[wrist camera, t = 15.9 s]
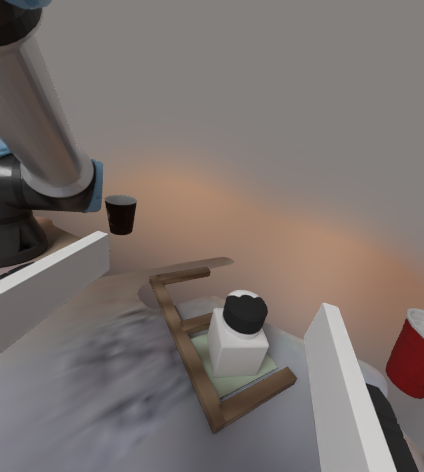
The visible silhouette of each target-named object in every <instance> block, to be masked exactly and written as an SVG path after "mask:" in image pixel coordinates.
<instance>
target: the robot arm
mask: <svg viewBox="0 0 424 472" xmlns="http://www.w3.org/2000/svg"><path fill="white" fill-rule="evenodd" d="M51 1H52V0H0V140H1V141H0V267H5V266H10V265H15V264H19V263H22V262H25V261H28V260H30V259H33V258H35V257H37V256H38V255H40V254H41V253H43V252H44V251H45V250H46V248H47V246H48V242H47V237H46V234H45V233H44V231H43V230H42V228H41V227H40V225H39V224H38V222H37V221H36V219H35V218H34V216H33V212H32V210H49V211H71V212H82V213H87V212H97V211H99V210H100V209H101V203H102V184H103V183H102V182H103V164H102V163H101V162H99V161H96V160H94V159H90V158H89V156H88V155H87V154H86V153H85V152H84V151H83V150H82V149H81V148H79V147H78V146H77V145H76V143H75V140H74V137H73V135H72V132H71V129H70V127H69V124H68V121H67V119H66V116H65V114H64V111H63V108H62V106H61V103H60V100H59V98H58V95H57V93H56V90H55V87H54V85H53V82H52V79H51V77H50V74H49V72H48V69H47V66H46V64H45V61H44V58H43V56H42V53H41V51H40V48H39V45H38V43H37V40H36V37H35V35H34V34H35V32H36V31H37V30H38V28H39V26H40V25H41V22H42V18H43V7H46V6H48V5H49V4H50V3H51ZM109 262H110V261H109V236H108V234H107V233H104V232H101V231H96V232H94V233H93V234H90V235H88V236H86V237H84V238H82V239H80V240H78V241H77V242H75V243H73V244H71V245H69V246H67V247H65V248H63V249H61V250H59V251H57V252H55V253H53V254H51V255H49V256H47V257H45V258H43V259H41V260H39V261H37V262H31V263H28V264H24V265H21V266H19V267H17V268H14V269H12V270H10V271H8V273H4V274H2V275H0V353H2V352H3V351H4V350H6V349H7V348H8V347H9V346H11V345H12V344H13V343H15V342H16V341H17V340H19V339H20V338H21V337H22V336H24V335H25V334H26V333H28V332H29V331H30V330H32V329H33V328H34V327H35V326H37V325H38V324H39V323H41V322H42V321H43V320H45V319H46V318H47V317H48V316H50V315H51V314H52V313H54V312H55V311H56V310H58V309H59V308H60V307H61V306H63V305H64V304H65V303H67V302H68V301H69V300H71V299H72V298H73V297H74V296H76V295H77V294H78V293H80V292H81V291H82V290H84V289H85V288H86V287H87V286H89V285H90V284H91V283H93V282H94V281H95V280H97V279H98V278H99V277H100V276H102V275H103V274H104V273H106V272H107V271H108V270H109V269H110V263H109ZM304 342H305V350H306V358H307V365H308V373H309V381H310V388H311V396H312V404H313V412H314V419H315V427H316V435H317V442H318V450H319V458H320V466H321V472H419V471H418V469H417V466H416V464H415V462H414V459H413V457H412V454H411V452H410V450H409V447H408V445H407V443H406V440H405V439H404V438H403V433H402V431H401V429H400V426H399V424H397V419H396V417H395V414H394V412H393V410H392V407H391V405H390V403H389V402H388V400H387V399H386V398H385V396H384V395H383V393H382V392H381V391H380V389H379V388H378V387H375V386H372V385H370V384H367V383H365V381H364V378H363V376H362V373H361V370H360V367H359V364H358V362H357V359H356V356H355V353H354V350H353V348H352V345H351V342H350V339H349V336H348V334H347V331H346V328H345V325H344V322H343V320H342V317H341V314H340V311H339V309H338V307H336V306H332V305H329V304H326V303H322V305H321V307H320V309H319V311H318V312H317V314H316V316H315V318H314V320H313V322H312V323H311V325H310V327H309V329H308V331H307V332H306V334H305V336H304Z"/></svg>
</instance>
